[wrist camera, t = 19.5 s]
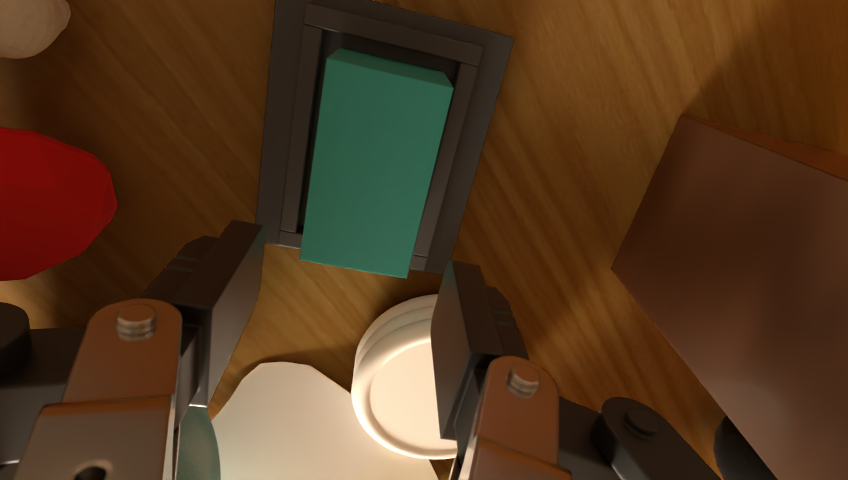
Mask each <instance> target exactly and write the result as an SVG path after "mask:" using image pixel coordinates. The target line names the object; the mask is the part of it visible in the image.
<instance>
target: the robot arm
mask: <svg viewBox="0 0 848 480" xmlns="http://www.w3.org/2000/svg"><path fill="white" fill-rule="evenodd" d="M265 235H266V229H265V226H264V225H259V224H254V223H248V222H243V221H237V220H231V221H230V223H229V224H228V225H227V227H226V228H225V229H224V231H223V232H222V233H221V235H220V236H219V237H218V238H216V237H211V236H205V235H204V236H202V237H200V238H198V239H196V240H194V241H191V242H189V243H187V244H186V245H185V246H184V247H183V248H182V249H181V250H180V252H179V253H178V254H177V255H176V258H173V260H172V261H171V262H170V263H169V264H168V265H167V268H165V269H164V270H163V271H162V272H161V273H160V274H159V275H158V277H157V278H156V279H155V280H154V281H153V282H152V283H151V285H150V286H149V287H148V288H147V289H146V290H145V291H144V293H143V294H142V295H141V296H140V297H139V298H138V299H129V300H124V301H119V302H116V303H113V304H110V305H108V306H106V307H104V308H102V309H100V310H99V311H98V312H96V313H95V314H94V315H93V316H92V317H91V318H90V320H89V322H88V325H87V326H82V327H72V328H50V329H30V325H29V319H28V315H27V314H26V312H25V311H24V310H23V309H21V308H19V307H17V306H15V305H12V304H8V303H3V302H0V480H176V473H177V461H178V450H179V438H180V422H181V421H182V419H183V417H184V415H185V413H186V411H187V409H188V407H189V405H190V406H197V407H205V408H207V407H208V405H209V403H210V400H211V398H212V396H213V394H214V392H215V390H216V388H217V386H218V383H219V381H220V379H221V377H222V375H223V373H224V371H225V369H226V366H227V364H228V362H229V360H230V358H231V356H232V354H233V352H234V350H235V347H236V345H237V343H238V341H239V339H240V337H241V335H242V333H243V330H244V328H245V326H246V324H247V322H248V320H249V318H250V316H251V314H252V311H253V309H254V307H255V304H256V301H257V298H258V294H259V290H260V284H261V275H262V265H263V255H264V245H265ZM430 337H431V347H432V358H433V368H434V379H435V389H436V400H437V410H438V420H439V431H440V439H446V440H453V441H457V449H458V451H457V454H456V457H455V459H454V462H453V465H452V468H451V472H450V476H449V480H721V479H720V478H719V476H718V475H717V474H716V473H715V472H714V471H713V470H712V469H711V468H710V467H709V466H708V465H707V464H706V463H705V461H704V460H703V459H702V458H701V457H700V456H699V455H698V454H697V453H696V452H695V451H694V450H693V449H692V447H691V446H690V445H689V444H688V443H687V442H686V441H685V440H684V439H683V438H682V437H681V436H680V435H679V434H678V432H677V431H676V430H675V429H674V428H673V427H672V426H671V425H670V424H669V423H668V422H667V421H666V420H665V419H664V418H663V417H662V416H661V415H660V414H658V413H657V412H656V411H654V410H653V409H651V408H650V407H648V406H646V405H645V404H642V403H640V402H638V401H635V400H633V399H629V398H624V397H613V398H610V399H608V400H606V401H605V402H604V404H603V406H602V408H601V410H600V412H597V411H594V410H592V409H589V408H587V407H584V406H581V405H579V404H576V403H574V402H571V401H569V400H567V399H564V398H563V397H561V396H559V390H558V386H557V384H556V382H555V380H554V379H553V378H552V376H551V375H550V374H549V373H548V372H547V371H546V370H544V369H543V368H542V367H540V366H539V365H537V364H536V363H534V362H532V361H530V359H529V356H528V354H527V351H526V348H525V346H524V343H523V340H522V337H521V335H520V332H519V329H518V328H517V324H516V321H515V318H514V316H513V313H512V310H511V307H510V305H509V302H508V300H507V299H506V298H505V297H504V296H503V295H502V294H501V293H500V292H499V291H498V289H497V288H494V287H489V286H485V283H484V279H483V276H482V273H481V270H480V267H479V265H474V264H469V263H463V262H458V261H453V260H450V261H449V262H448V264H447V266H446V269H445V273H444V276H443V280H442V283H441V287H440V290H439V294H438V297H437V301H436V304H435V308H434V311H433V315H432V321H431V330H430Z"/></svg>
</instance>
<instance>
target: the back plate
mask: <svg viewBox="0 0 848 480" xmlns="http://www.w3.org/2000/svg"><path fill="white" fill-rule="evenodd" d="M513 42H514V37H511V36H508V35H504V34H500V33H496V32H492V31H488V30H484V29H480V28H477V27H473V26H469V25H465V24H461V23H457V22H453V21H449V20H445V19H441V18H438V17H434V16H430V15H426V14H422V13H418V12H414V11H410V10H406V9H402V8H399V7H395V6H391V5H387V4H383V3H379V2H375V1H371V0H275V10H274V21H273V32H272V43H271V54H270V65H269V76H268V87H267V98H266V109H265V120H264V131H263V142H262V153H261V164H260V175H259V186H258V197H257V208H256V219H255V224H259V225H264V226H265V229H266V235H265V243H266V244H272V245H278V246H283V247H289V248H294V249H300V250H301V245H302V237H303V230H304V222H305V215H306V207H307V200H308V192H309V185H310V178H311V170H312V163H313V155H314V148H315V140H316V133H317V125H318V118H319V110H320V103H321V96H322V88H323V81H324V73H325V66H326V59H327V58H328V57H329V56H330V55H332V54H333V53H334V52H335V51H337V50H338V49H339V48H340V47H343V48H347V49H351V50H356V51H360V52H364V53H368V54H373V55H377V56H381V57H385V58H389V59H394V60H398V61H402V62H406V63H411V64H415V65H419V66H423V67H428V68H432V69H436V70H440V71H443V72H444V74H445V75H446V77H447V78H448V80H449V81H450V83H451V85H452V86H453V88H454V89H453V93H452V97H451V101H450V105H449V109H448V113H447V117H446V121H445V126H444V130H443V134H442V138H441V142H440V146H439V150H438V154H437V158H436V162H435V166H434V170H433V174H432V178H431V182H430V186H429V190H428V195H427V199H426V203H425V207H424V211H423V215H422V219H421V223H420V227H419V231H418V235H417V239H416V243H415V247H414V251H413V255H412V260H411V264H410V268H409V269H411V270H417V271H423V272H428V273H434V274H439V275H444V273H445V269H446V266H447V264H448V262H449V261H450V260H451V256H452V253H453V249H454V246H455V242H456V239H457V235H458V232H459V228H460V225H461V222H462V218H463V215H464V211H465V208H466V204H467V201H468V197H469V194H470V190H471V187H472V184H473V180H474V177H475V173H476V170H477V166H478V163H479V159H480V156H481V152H482V149H483V146H484V142H485V139H486V135H487V132H488V128H489V125H490V121H491V118H492V114H493V111H494V108H495V104H496V101H497V97H498V94H499V90H500V87H501V83H502V80H503V77H504V73H505V70H506V66H507V63H508V59H509V56H510V52H511V49H512V45H513Z"/></svg>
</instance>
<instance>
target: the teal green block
mask: <svg viewBox="0 0 848 480" xmlns="http://www.w3.org/2000/svg"><path fill="white" fill-rule="evenodd" d="M453 89H454V88H453V86H452V85H451V83H450V81H449V80H448V78H447V77H446V75H445V74H444V72H443V71H440V70H436V69H432V68H428V67H423V66H419V65H415V64H411V63H406V62H402V61H398V60H394V59H389V58H385V57H381V56H377V55H373V54H368V53H364V52H360V51H356V50H351V49H347V48H343V47H340V48H339V49H338V50H337V51H335V52H334V53H333V54H332V55H330V56H329V57H328V58H327V59H326V66H325V73H324V81H323V88H322V96H321V103H320V110H319V118H318V125H317V133H316V140H315V148H314V155H313V163H312V170H311V178H310V185H309V192H308V200H307V207H306V215H305V222H304V230H303V237H302V245H301V252H300V260H302V261H308V262H314V263H319V264H325V265H331V266H337V267H342V268H348V269H354V270H360V271H366V272H371V273H377V274H383V275H389V276H394V277H400V278H407V276H408V272H409V268H410V264H411V260H412V255H413V251H414V247H415V243H416V239H417V235H418V231H419V227H420V223H421V219H422V215H423V211H424V207H425V203H426V199H427V195H428V190H429V186H430V182H431V178H432V174H433V170H434V166H435V162H436V158H437V154H438V150H439V146H440V142H441V138H442V134H443V130H444V126H445V121H446V117H447V113H448V109H449V105H450V101H451V97H452V93H453Z"/></svg>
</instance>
